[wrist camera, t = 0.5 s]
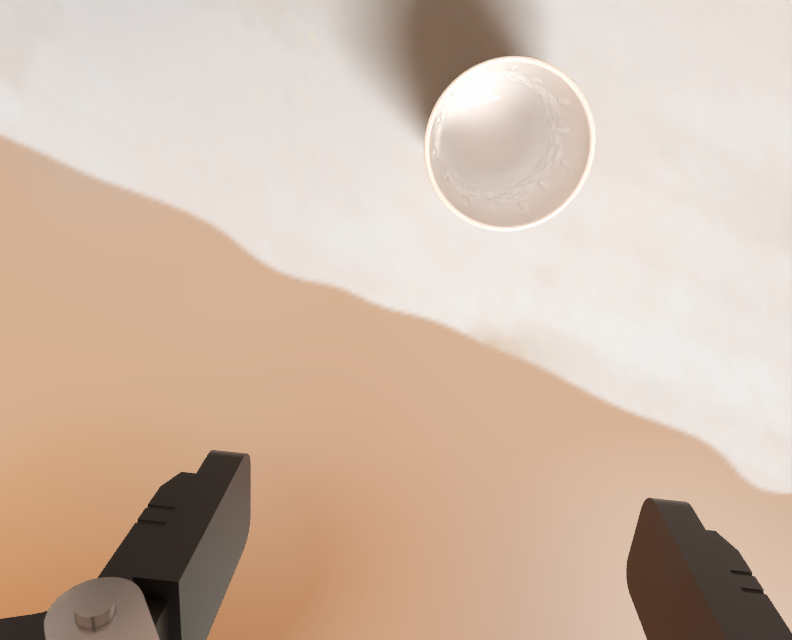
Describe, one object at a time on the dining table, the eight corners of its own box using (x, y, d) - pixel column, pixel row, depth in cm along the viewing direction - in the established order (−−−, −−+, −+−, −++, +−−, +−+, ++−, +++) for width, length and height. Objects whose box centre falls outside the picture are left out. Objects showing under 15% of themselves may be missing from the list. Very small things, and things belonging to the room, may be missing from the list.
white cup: (418, 74, 37) (413, 70, 28) (552, 53, 36) (592, 42, 27) (435, 204, 40) (434, 241, 31) (559, 187, 39) (598, 220, 30)
